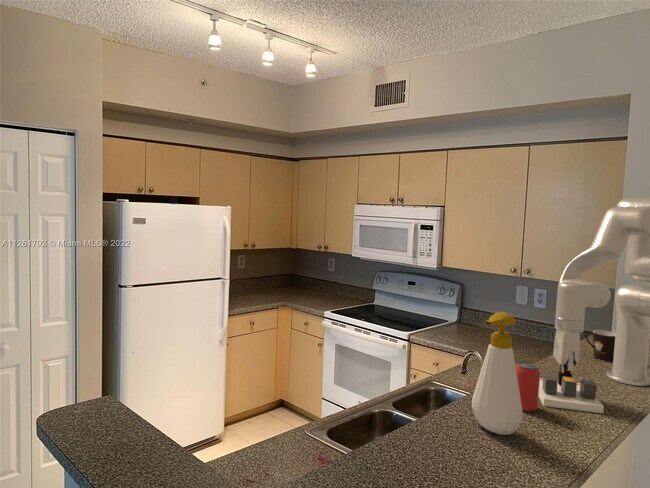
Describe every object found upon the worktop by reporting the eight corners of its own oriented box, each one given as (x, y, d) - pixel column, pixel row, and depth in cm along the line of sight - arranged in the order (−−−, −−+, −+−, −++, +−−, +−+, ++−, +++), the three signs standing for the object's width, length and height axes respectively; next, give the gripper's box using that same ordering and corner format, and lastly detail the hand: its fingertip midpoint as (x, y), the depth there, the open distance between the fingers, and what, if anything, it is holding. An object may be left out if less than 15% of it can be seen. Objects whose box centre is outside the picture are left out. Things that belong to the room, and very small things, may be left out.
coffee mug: (621, 363, 176) (624, 336, 175) (598, 362, 176) (600, 335, 175) (604, 353, 187) (606, 328, 187) (582, 352, 188) (584, 327, 187)
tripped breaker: (560, 390, 139) (562, 376, 139) (572, 391, 138) (573, 377, 138) (564, 395, 135) (565, 380, 135) (575, 396, 134) (577, 382, 134)
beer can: (539, 413, 127) (543, 369, 126) (513, 410, 129) (517, 367, 128) (534, 404, 134) (537, 362, 133) (509, 401, 135) (512, 359, 134)
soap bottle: (457, 425, 118) (464, 309, 116) (482, 415, 124) (489, 306, 122) (504, 447, 108) (513, 320, 106) (528, 435, 114) (537, 316, 112)
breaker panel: (532, 383, 150) (533, 364, 150) (584, 389, 147) (585, 369, 146) (543, 405, 133) (545, 383, 132) (603, 413, 129) (605, 390, 129)
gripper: (549, 317, 148) (545, 375, 149) (561, 329, 133) (556, 393, 134) (576, 320, 146) (571, 378, 147) (591, 331, 131) (585, 396, 133)
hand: (564, 385), depth 141 cm, fingers closed
